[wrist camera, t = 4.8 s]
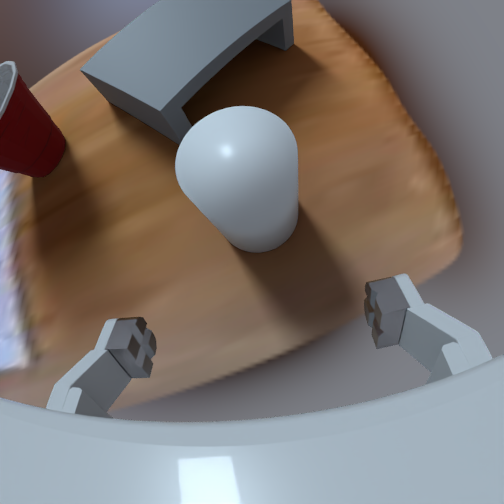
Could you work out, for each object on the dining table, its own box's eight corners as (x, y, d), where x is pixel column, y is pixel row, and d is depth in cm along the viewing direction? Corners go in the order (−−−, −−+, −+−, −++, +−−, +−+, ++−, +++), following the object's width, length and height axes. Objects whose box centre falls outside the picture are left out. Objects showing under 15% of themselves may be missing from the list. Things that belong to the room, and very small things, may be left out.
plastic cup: (12, 209, 27) (-63, 177, 15) (29, 131, 29) (-30, 88, 17) (74, 191, 26) (-13, 140, 14) (91, 104, 28) (30, 42, 16)
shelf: (186, 149, 25) (160, 111, 19) (107, 101, 27) (79, 69, 22) (293, 43, 26) (291, -1, 20) (204, 14, 28) (191, -21, 22)
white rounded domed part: (267, 268, 22) (247, 239, 13) (203, 223, 23) (152, 174, 15) (313, 202, 22) (321, 138, 14) (249, 164, 24) (224, 91, 15)
